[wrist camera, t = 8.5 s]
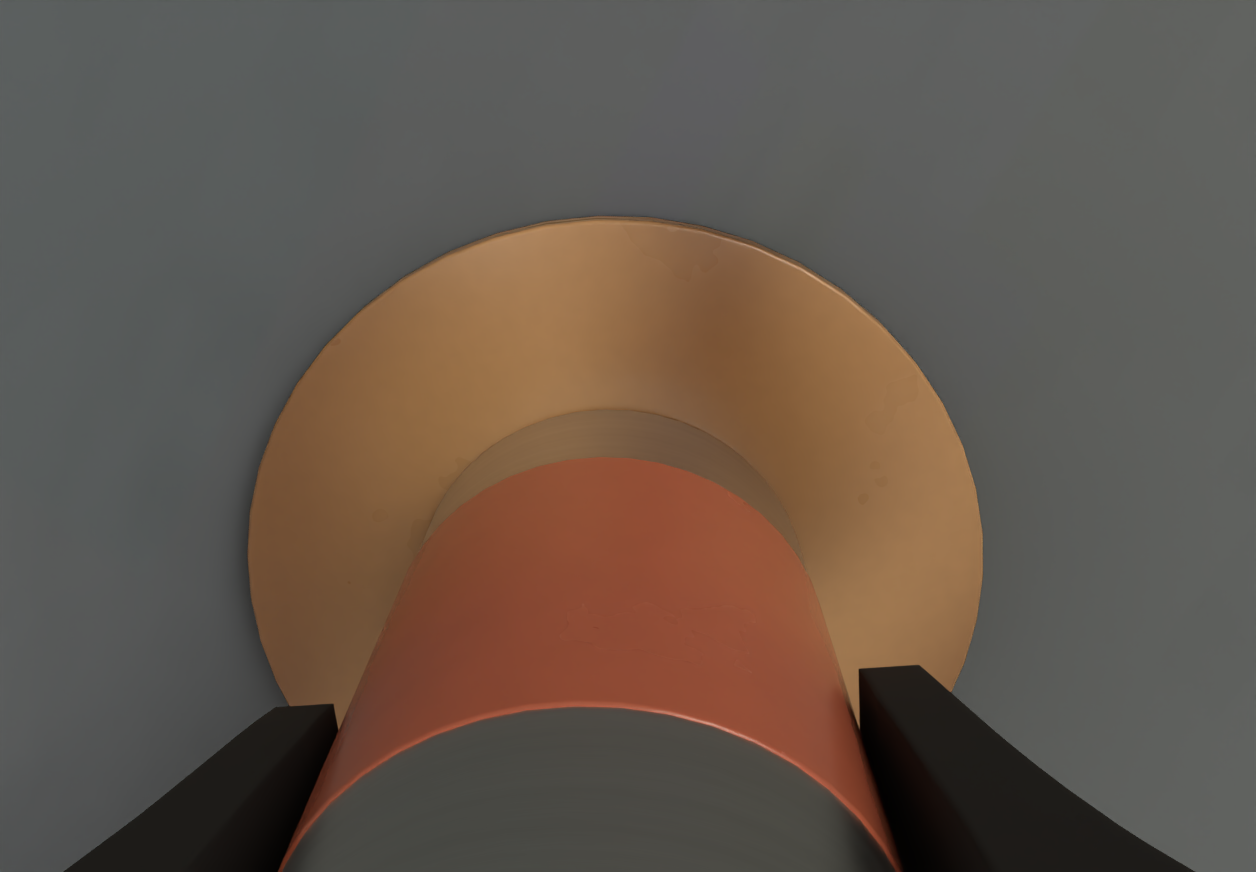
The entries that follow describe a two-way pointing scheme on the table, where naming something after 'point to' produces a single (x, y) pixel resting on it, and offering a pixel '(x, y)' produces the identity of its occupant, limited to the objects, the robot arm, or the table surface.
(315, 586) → the coaster
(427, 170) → the table surface
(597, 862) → the can
